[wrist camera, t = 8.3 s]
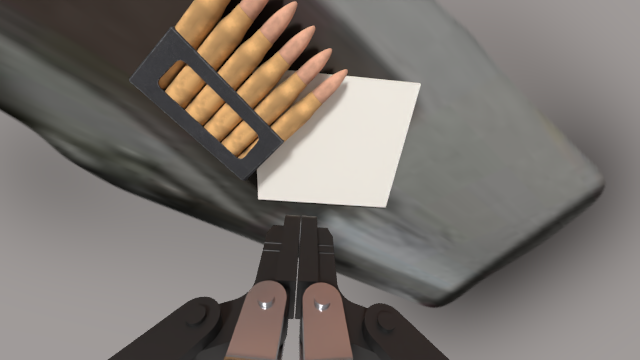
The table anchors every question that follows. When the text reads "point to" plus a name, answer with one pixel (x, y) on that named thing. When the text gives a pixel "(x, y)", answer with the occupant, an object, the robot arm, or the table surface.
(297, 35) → the ammunition clip
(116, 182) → the table surface
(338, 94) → the mat
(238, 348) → the robot arm
